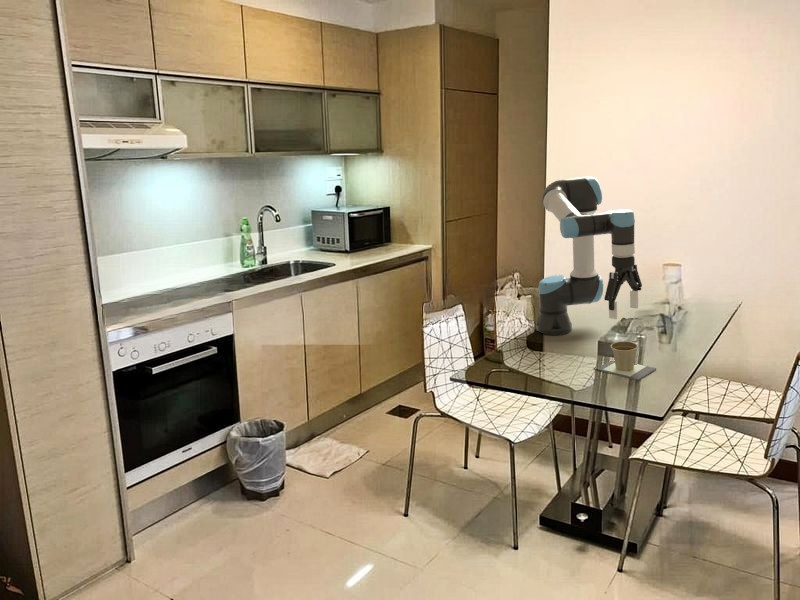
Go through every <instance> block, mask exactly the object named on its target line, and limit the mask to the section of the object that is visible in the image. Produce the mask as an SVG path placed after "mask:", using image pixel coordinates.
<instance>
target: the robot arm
mask: <svg viewBox="0 0 800 600" xmlns="http://www.w3.org/2000/svg"><path fill="white" fill-rule="evenodd" d="M602 200H603V193H602V189H601V185H600V182H599V180H598V179H597V178H596V177H593V176H582V177H574V178H566V179H557V180H555V181H553V182H551V183H550V184H548V185H547V186H546V187H545V188H544V190H543V191H542V194H541V204H542V206H543V207H544V209H545V210H546V211H548V212H550V213H552V214H553V215H554V217H555V218H556V219H557V220H558V221H559V231H560V234H561V236H562V238H564V239H572V254H573V255H572V256H573V257H572V258H573V259H572V260H573V262H572V263H573V266H572V268H573V269H572V270H571V271H570V272H569V278H567V277H566V276H565V275H561V274H559V275H558V274H556V275H555V274H554V275H550V276H547V277H544V278H542V279H541V280H540V281H539V282H538V291H537V292H538V303H539V304H538V305H539V314H538V315H539V316H538V318H537V322H536V331H539V332H541V333H544V334H543V335H545V334H548V335H547V336H560V335H561V336H562V335H565V334H568V333H570V332H571V331H572V330H573V325H572V322H571V319H570V316H569V313H568V306H576V305H585V304H587V305H589V304H593V303H597V302H599V301H600V300H601V299H602V297H603V294H604V283H603V282H604V280H603V278H602V276H601V275H600V274H599V272H598V271H597V270H596V269H595V237H594V236H600V235H608V234H609V235H611V266H612V267H613V268H614V269H615V270H614V272H612V271H611V272H609V274H608V275H609V276H608V282H607V287H606V289H605V295H604V297H603V298H604V301H608V319H613V320H617V319H618V300H616V299H617V297H618V294H619V292H620V289H621V287H622V285H623V284H624V283H625V282H626V283H627V284H628V286H629V287H630V291H629V307H630V308H631V309H639V291H642V286H643V284H642V281H641V277H640V275H639V271H638V265H637V264H635V257H636V256H635V255H634V254H635V252H636V251H635V249H636V248H635V222H636V220H635V213H634V211H633V210H631V209H617V210H606V211H605V210H604V211H603V212H602V213H596V211H598V206H599V205H601V204H602V202H603V201H602ZM539 332H538V333H539ZM541 333H540V334H541Z"/></svg>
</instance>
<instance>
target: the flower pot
mask: <svg viewBox="0 0 800 600" xmlns="http://www.w3.org/2000/svg"><path fill="white" fill-rule="evenodd" d="M638 347H639V345H638V344H637V343H635V342H633V341H629V340H628V341H626V340H624V341H623V340H621V341H617V342H612V343H611V344H610V349H611V351H612V353H613V358H614V360H615V365H616V368H617V369H618V370H621V371H627V370H632V369H633V368H634V363H635V361H636V359H635V358H636V352H637V349H638Z"/></svg>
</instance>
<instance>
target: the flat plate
mask: <svg viewBox="0 0 800 600" xmlns="http://www.w3.org/2000/svg"><path fill="white" fill-rule="evenodd" d="M636 364H637V365H634V368H633V369H632V370H627V371H621V370H618V369H617V368H616V365H615V361H610V362H607V363H606V364H604V365H602V366H601V368H600V369H599V370H601V371H600V372H604V373H606V374H612V375H615V376H617V377H618V376H619V377H623V378H626V379H630V380H634V381H640V380H642V379H644V378H645V377H647V376H648V375H650V374H652V373H653V372H655V371H657V367H653V366H648V365H644V364H639V363H636ZM595 368H596V366H595V367H593V370H595ZM599 370H598V371H599ZM654 370H655V371H654ZM643 377H644V378H643Z"/></svg>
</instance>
